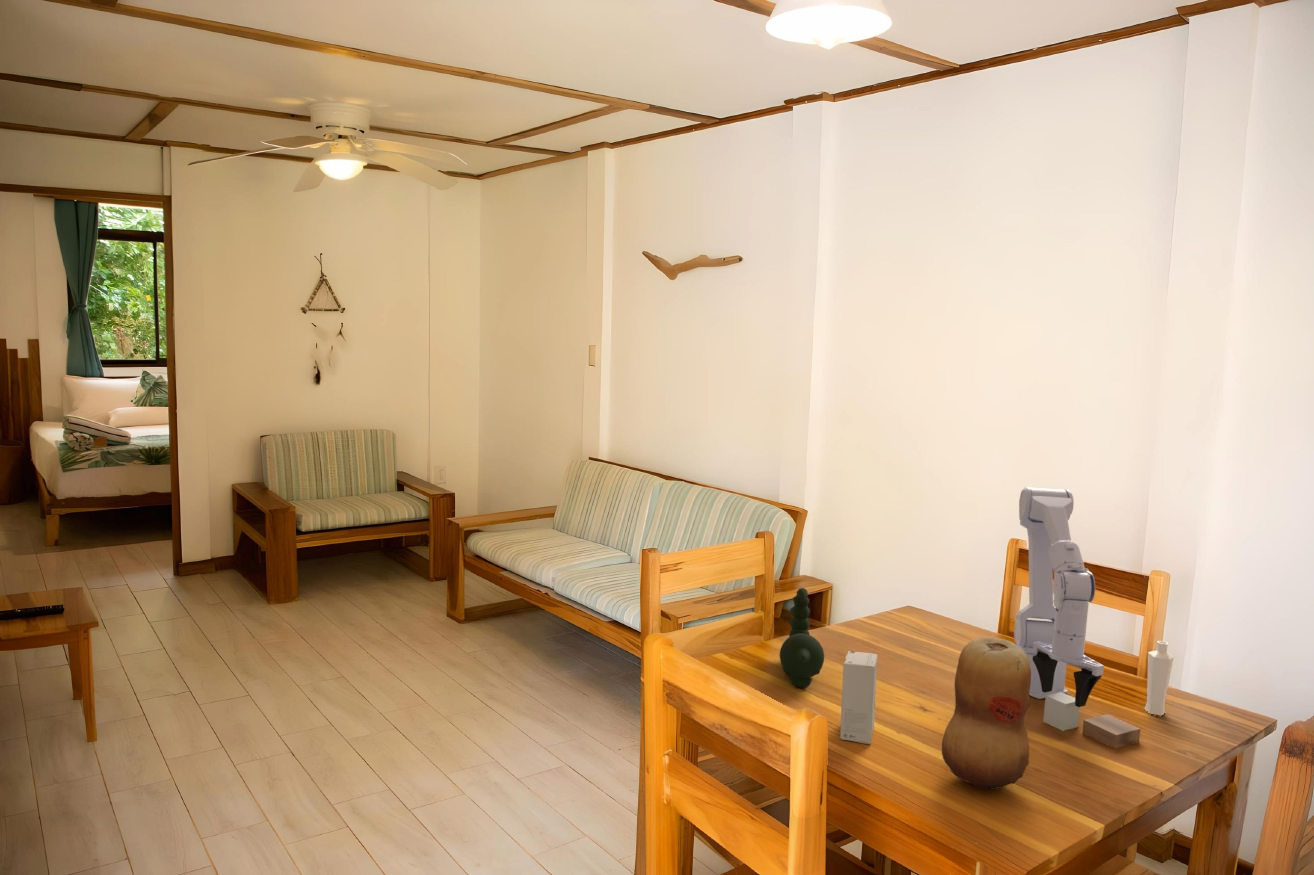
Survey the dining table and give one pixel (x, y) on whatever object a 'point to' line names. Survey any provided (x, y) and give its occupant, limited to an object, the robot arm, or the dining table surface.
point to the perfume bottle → (1158, 678)
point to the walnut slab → (1111, 731)
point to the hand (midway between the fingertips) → (1063, 698)
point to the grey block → (1061, 711)
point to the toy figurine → (801, 645)
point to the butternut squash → (989, 714)
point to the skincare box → (858, 697)
